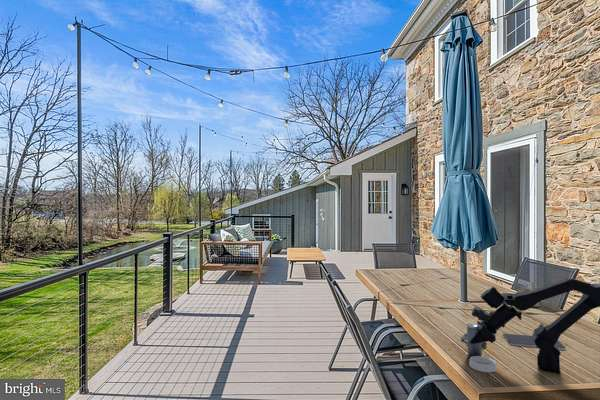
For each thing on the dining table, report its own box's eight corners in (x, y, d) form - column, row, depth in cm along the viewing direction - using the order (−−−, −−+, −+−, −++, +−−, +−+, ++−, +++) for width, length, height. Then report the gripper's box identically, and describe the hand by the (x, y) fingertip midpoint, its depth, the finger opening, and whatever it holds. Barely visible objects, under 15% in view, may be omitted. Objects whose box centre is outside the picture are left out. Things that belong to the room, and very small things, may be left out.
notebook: (554, 341, 163) (503, 336, 170) (554, 337, 164) (503, 333, 170) (566, 351, 151) (510, 346, 158) (566, 347, 151) (510, 342, 158)
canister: (483, 356, 145) (482, 324, 146) (481, 361, 141) (480, 328, 141) (468, 353, 148) (468, 322, 149) (466, 358, 144) (465, 326, 144)
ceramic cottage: (529, 300, 235) (527, 277, 235) (544, 308, 218) (542, 283, 218) (505, 301, 236) (503, 279, 236) (518, 309, 220) (516, 285, 220)
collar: (497, 365, 137) (497, 359, 137) (494, 374, 129) (494, 368, 129) (471, 360, 142) (471, 354, 142) (467, 368, 134) (467, 362, 135)
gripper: (483, 296, 152) (456, 318, 156) (485, 306, 135) (454, 331, 140) (505, 316, 148) (476, 339, 153) (509, 330, 131) (476, 355, 136)
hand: (470, 340), depth 145 cm, fingers closed on canister, 5 cm apart
